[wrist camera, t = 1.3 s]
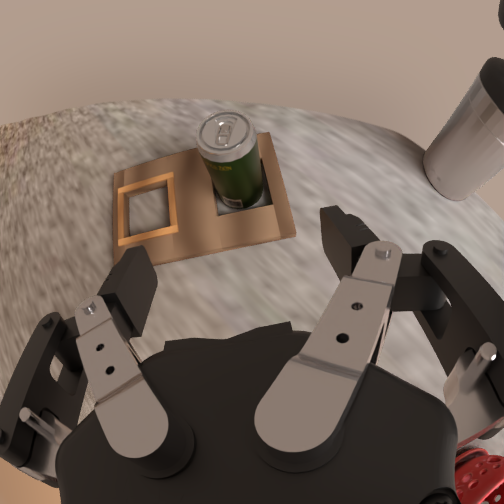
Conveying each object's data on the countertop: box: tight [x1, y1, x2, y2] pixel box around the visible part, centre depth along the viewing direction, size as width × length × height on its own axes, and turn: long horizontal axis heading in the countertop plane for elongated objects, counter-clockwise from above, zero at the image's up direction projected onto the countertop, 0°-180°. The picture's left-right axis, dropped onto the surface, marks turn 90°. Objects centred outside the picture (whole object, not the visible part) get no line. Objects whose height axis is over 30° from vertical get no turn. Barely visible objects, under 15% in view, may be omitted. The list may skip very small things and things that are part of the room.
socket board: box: [113, 132, 296, 266], centre depth 33 cm, size 22×14×2 cm, turn 101°
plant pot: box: [454, 448, 504, 504], centre depth 15 cm, size 13×13×12 cm
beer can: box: [196, 110, 263, 209], centre depth 28 cm, size 5×5×12 cm
